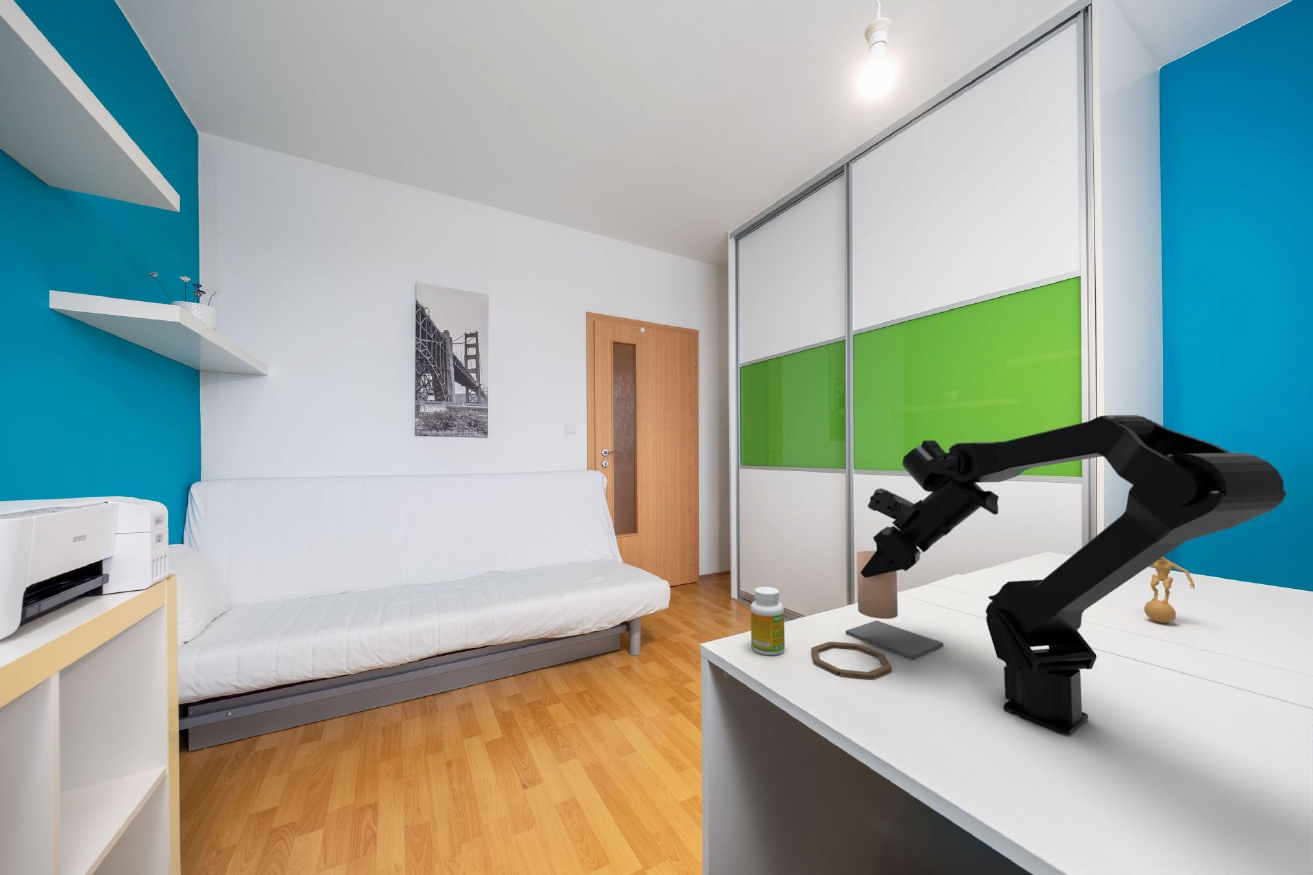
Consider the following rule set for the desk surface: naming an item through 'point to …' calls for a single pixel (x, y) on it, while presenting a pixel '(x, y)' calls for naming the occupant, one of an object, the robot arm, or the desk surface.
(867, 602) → the peach cylinder
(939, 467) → the robot arm
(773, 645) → the supplement bottle
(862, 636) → the rubber mat
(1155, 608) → the figurine
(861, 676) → the coaster ring
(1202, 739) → the desk surface
